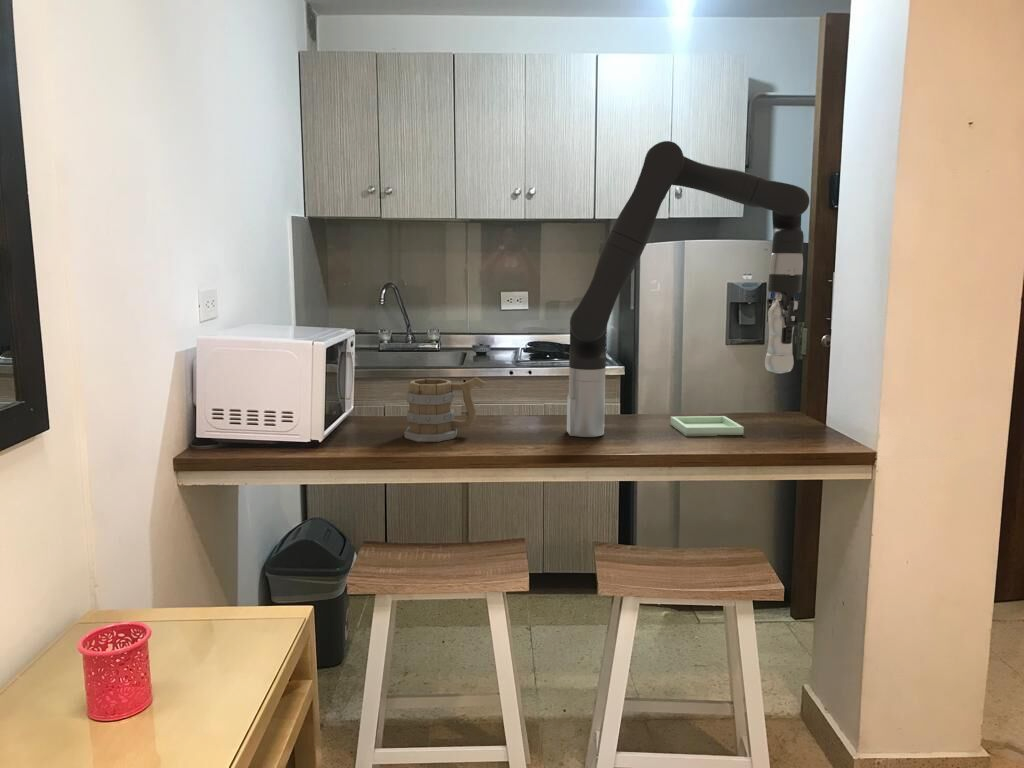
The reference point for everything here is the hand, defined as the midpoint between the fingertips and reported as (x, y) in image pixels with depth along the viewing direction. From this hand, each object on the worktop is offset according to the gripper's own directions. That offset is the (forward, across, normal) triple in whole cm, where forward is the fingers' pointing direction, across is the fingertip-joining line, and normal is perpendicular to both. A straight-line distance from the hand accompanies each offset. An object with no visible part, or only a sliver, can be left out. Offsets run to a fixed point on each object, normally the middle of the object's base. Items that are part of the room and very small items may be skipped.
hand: (780, 342), depth 180 cm
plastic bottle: (+8, 0, 0) cm, 8 cm away
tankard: (+25, -8, -82) cm, 86 cm away
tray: (+25, -12, -13) cm, 30 cm away
